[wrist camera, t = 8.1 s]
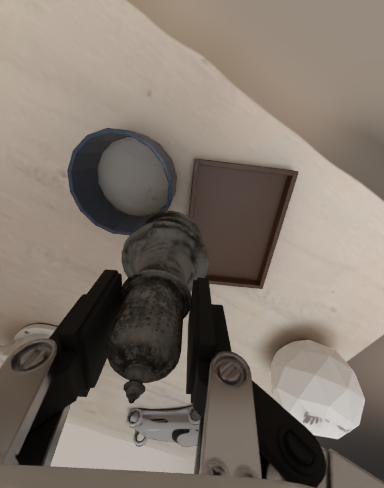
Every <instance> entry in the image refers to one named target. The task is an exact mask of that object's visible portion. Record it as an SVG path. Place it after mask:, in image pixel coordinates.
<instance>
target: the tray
mask: <svg viewBox="0 0 384 488" xmlns="http://www.w3.org/2000/svg"><path fill="white" fill-rule="evenodd" d="M297 175H298V171H293V170H285V169H277V168H269V167H261V166H252V165H244V164H236V163H228V162H220V161H211V160H203V159H195V163H194V172H193V181H192V190H191V199H190V208H189V218H191V219H192V220H193V221H194V222H195V223H196V225H197V226H198V227H199V230H200V232H201V235H202V241H203V243H204V245H205V247H206V250H207V252H208V259H209V266H208V270H207V274H206V276H205V278H208V279H209V284H218V285H228V286H238V287H249V288H259V289H262V288H263V285H264V282H265V279H266V275H267V272H268V269H269V266H270V263H271V259H272V256H273V253H274V250H275V246H276V243H277V240H278V237H279V233H280V230H281V227H282V224H283V221H284V217H285V214H286V211H287V208H288V204H289V201H290V198H291V195H292V192H293V188H294V185H295V182H296V179H297Z"/></svg>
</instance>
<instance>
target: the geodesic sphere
mask: <svg viewBox="0 0 384 488" xmlns="http://www.w3.org/2000/svg"><path fill="white" fill-rule="evenodd" d="M270 367H271V388H272V393H273V395H274V396H275V398H276V399H277V401H278V402H279V404H280V405H281V406H282V407H283V408H284V409H285V410H287V411H288V412H289V413H290V414H291V415H292V416H294V417H295V418H296V419H297V420H298V421H299V422H300V423H302V424H303V425H304V426H305V427H306V428H307V429H308V430H309V431H310V432H311V433H312V434H313V435H318V436H322V437H328V438H334V439H339V438H340V437H342V436H343V435H345V434H346V433H348V432H350V431H351V430H353V429H354V428H356V427H357V426H359V424H360V420H361V415H362V411H363V407H364V402H365V398H364V396H363V393H362V391H361V388H360V385H359V382H358V380H357V377H356V374H355V373H354V371H353V370H352V369H351V368H350V366H349V365H348V364H347V363H346V362H345V360H344V359H343V358H342V357H341V356H340V354H339V353H338V352H337V351H336V350H335V349H332V348H329V347H327V346H324V345H321V344H319V343H316V342H314V341H311V340H301V341H293V342H291V343H289V344H287V345H285V346H283V347H282V348H281V349H279V350H278V351H277V352H276V354H275V356H274V358H273V361H272V363H271V365H270Z"/></svg>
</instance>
